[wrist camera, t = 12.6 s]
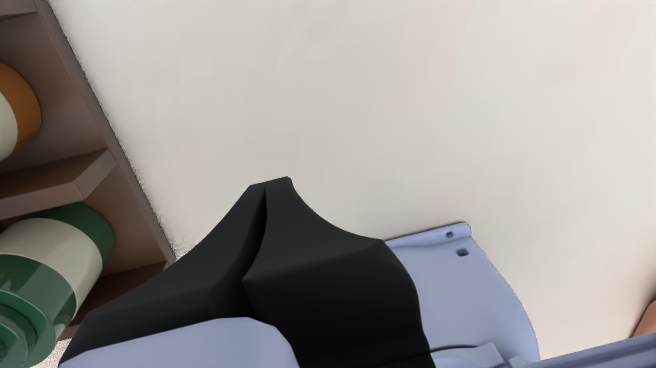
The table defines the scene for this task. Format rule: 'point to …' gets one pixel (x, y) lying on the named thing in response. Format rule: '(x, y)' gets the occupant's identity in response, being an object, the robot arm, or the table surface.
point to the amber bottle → (16, 112)
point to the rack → (74, 156)
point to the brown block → (647, 321)
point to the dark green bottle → (47, 277)
